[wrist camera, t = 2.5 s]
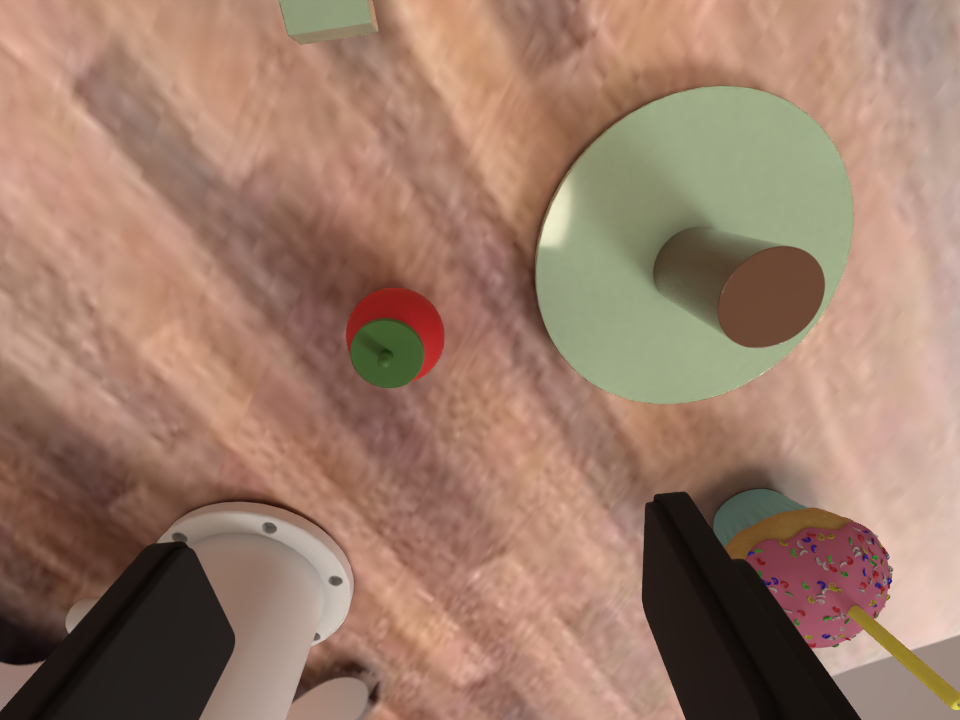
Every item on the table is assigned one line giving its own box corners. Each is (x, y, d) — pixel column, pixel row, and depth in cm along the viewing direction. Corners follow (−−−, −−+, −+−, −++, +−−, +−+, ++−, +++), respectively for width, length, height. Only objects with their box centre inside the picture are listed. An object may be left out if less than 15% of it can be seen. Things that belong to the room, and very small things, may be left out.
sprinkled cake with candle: (789, 439, 26) (1028, 639, 15) (840, 528, 28) (1074, 755, 17) (657, 510, 28) (781, 735, 17) (717, 588, 30) (857, 826, 19)
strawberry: (372, 363, 24) (341, 420, 18) (351, 282, 22) (311, 318, 16) (453, 353, 23) (447, 407, 18) (439, 270, 22) (428, 302, 16)
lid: (544, 410, 25) (569, 494, 18) (518, 117, 19) (541, 86, 13) (810, 377, 24) (935, 452, 18) (863, 65, 19) (1076, 5, 12)
